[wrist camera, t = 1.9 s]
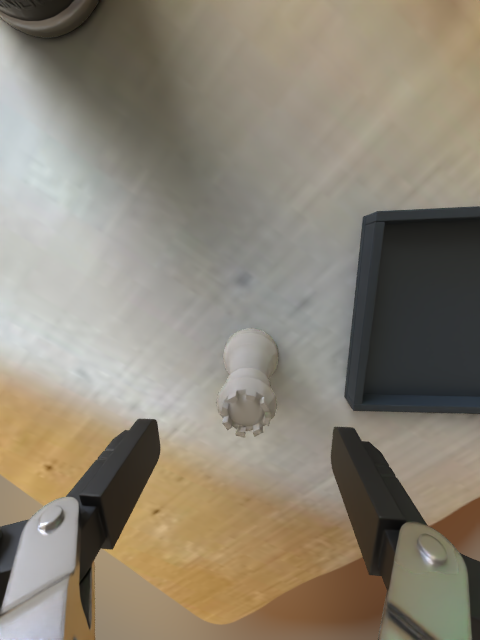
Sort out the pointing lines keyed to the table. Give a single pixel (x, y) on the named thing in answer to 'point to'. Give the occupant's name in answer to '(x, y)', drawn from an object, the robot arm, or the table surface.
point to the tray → (417, 313)
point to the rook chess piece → (248, 382)
